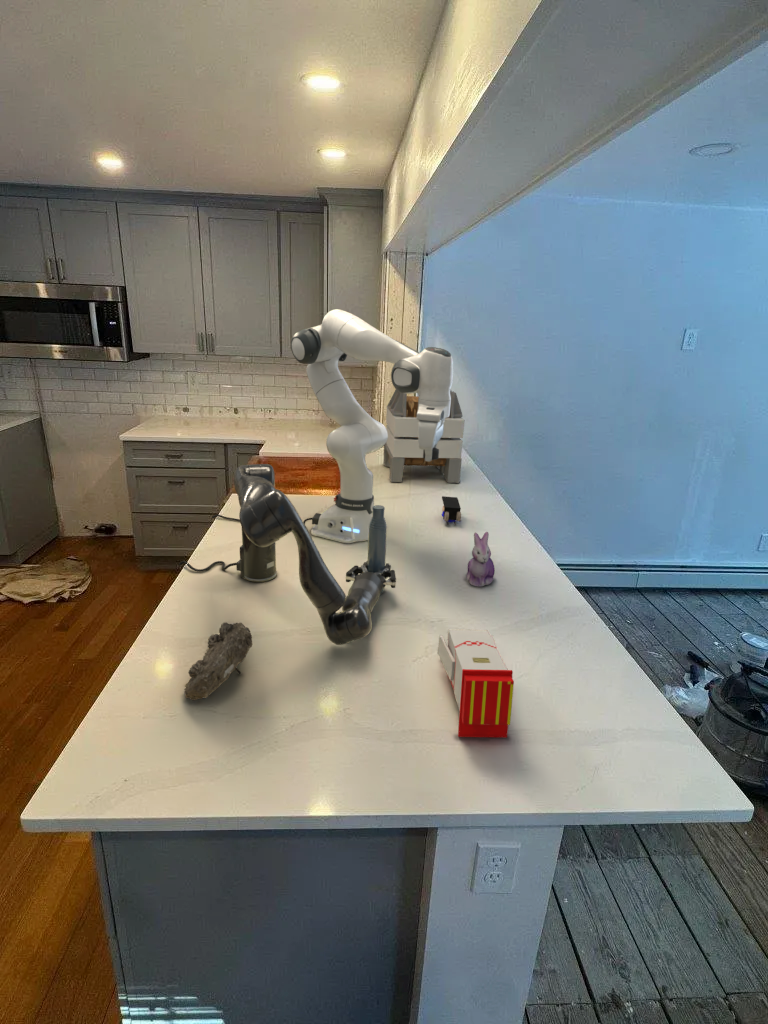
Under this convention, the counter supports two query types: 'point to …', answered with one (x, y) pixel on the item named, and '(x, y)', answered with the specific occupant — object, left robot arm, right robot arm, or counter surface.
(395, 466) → the transformer
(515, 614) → the counter surface
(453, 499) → the figurine character
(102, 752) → the counter surface
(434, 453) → the cap
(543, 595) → the counter surface
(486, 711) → the toy
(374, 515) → the bottle
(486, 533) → the figurine
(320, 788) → the counter surface
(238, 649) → the fossil
